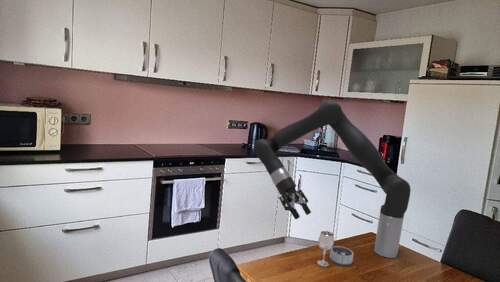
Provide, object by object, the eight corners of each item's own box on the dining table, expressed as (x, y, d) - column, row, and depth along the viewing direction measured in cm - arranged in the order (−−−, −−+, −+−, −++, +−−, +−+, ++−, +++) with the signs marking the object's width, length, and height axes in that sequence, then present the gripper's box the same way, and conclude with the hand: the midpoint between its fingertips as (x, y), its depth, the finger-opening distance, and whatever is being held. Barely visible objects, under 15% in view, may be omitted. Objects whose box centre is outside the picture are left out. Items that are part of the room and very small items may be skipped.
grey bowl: (331, 253, 138) (333, 244, 138) (353, 259, 135) (354, 250, 134) (327, 262, 130) (328, 252, 130) (350, 268, 127) (351, 258, 126)
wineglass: (330, 268, 126) (335, 237, 124) (315, 265, 127) (319, 235, 125) (330, 261, 131) (334, 232, 130) (315, 258, 132) (319, 229, 131)
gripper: (279, 178, 132) (300, 215, 126) (298, 174, 143) (319, 208, 137) (266, 188, 136) (287, 224, 130) (286, 183, 147) (306, 216, 141)
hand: (303, 216), depth 134 cm, fingers open, 8 cm apart
